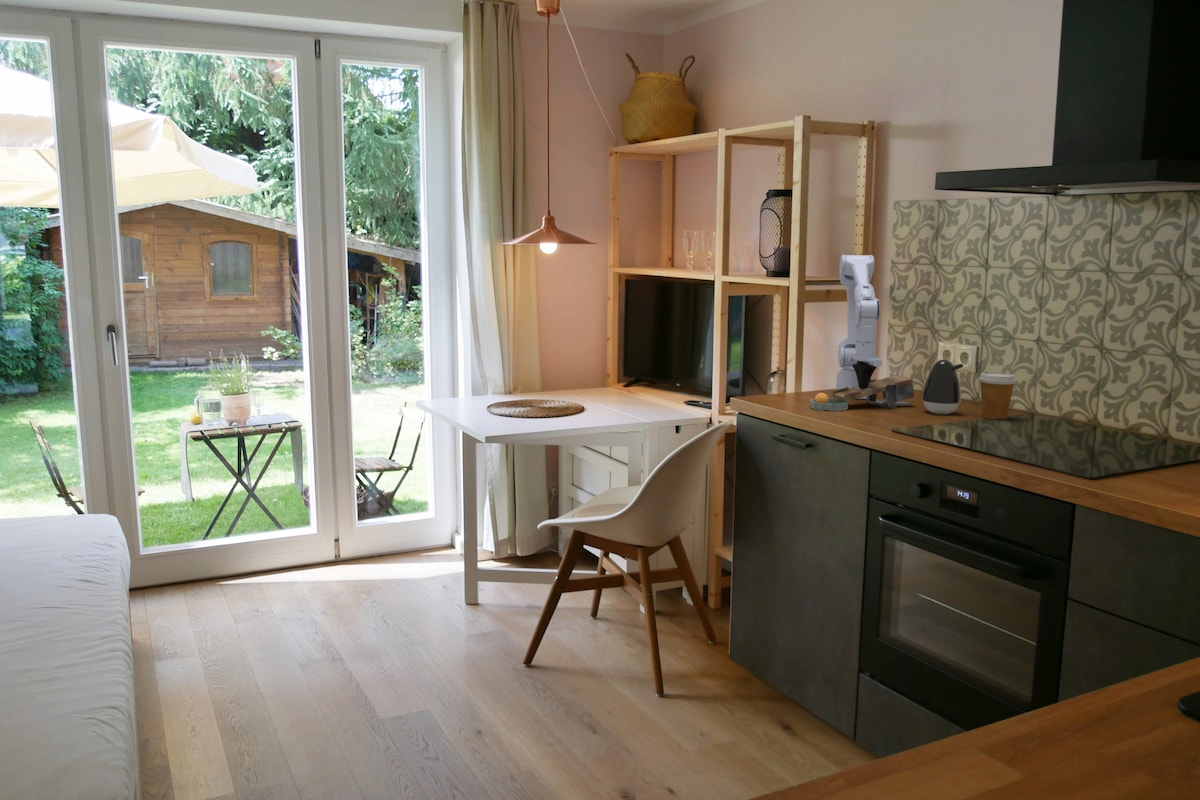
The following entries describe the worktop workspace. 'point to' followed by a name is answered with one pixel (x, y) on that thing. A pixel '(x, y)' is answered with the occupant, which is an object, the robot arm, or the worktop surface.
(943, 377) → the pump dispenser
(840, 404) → the dish
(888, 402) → the lever stand
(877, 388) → the lever
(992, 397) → the disposable coffee cup
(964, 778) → the worktop surface
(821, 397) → the ball
